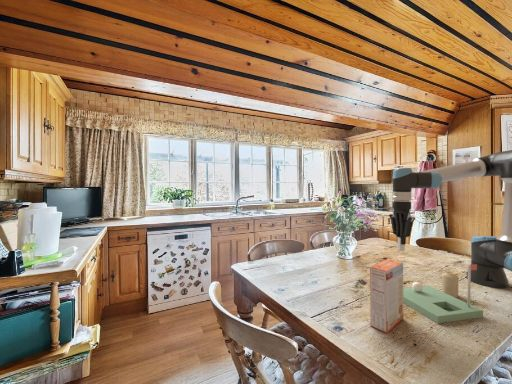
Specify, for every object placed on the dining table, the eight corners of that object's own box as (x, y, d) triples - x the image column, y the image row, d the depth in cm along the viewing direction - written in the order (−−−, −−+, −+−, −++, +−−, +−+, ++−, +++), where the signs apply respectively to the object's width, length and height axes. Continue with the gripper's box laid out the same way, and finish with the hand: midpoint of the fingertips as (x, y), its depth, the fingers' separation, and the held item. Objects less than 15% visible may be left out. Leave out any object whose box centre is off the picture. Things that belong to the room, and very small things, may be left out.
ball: (417, 288, 104) (417, 280, 104) (425, 292, 100) (425, 283, 100) (409, 289, 103) (409, 280, 103) (417, 293, 99) (417, 284, 99)
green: (430, 290, 107) (430, 250, 107) (484, 316, 86) (485, 267, 85) (390, 294, 103) (390, 253, 103) (437, 323, 82) (438, 271, 81)
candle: (442, 290, 107) (442, 269, 107) (457, 294, 104) (458, 272, 104) (442, 295, 103) (442, 272, 103) (458, 298, 99) (458, 275, 99)
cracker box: (386, 312, 89) (387, 258, 89) (404, 319, 85) (404, 262, 84) (368, 325, 81) (369, 265, 80) (387, 334, 76) (387, 270, 75)
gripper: (384, 200, 115) (383, 247, 116) (406, 201, 102) (405, 255, 103) (397, 200, 116) (397, 246, 117) (420, 201, 104) (419, 254, 104)
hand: (401, 250), depth 110 cm, fingers closed
